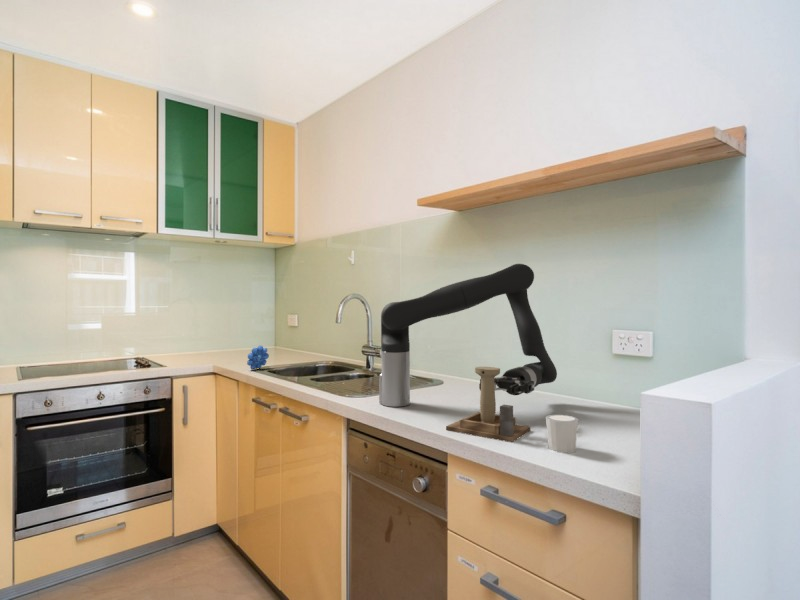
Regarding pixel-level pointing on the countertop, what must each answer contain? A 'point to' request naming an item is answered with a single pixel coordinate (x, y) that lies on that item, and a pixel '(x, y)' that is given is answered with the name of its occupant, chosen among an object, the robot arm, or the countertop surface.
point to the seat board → (491, 426)
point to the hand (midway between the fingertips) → (495, 388)
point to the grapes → (257, 357)
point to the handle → (487, 393)
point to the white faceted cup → (562, 432)
